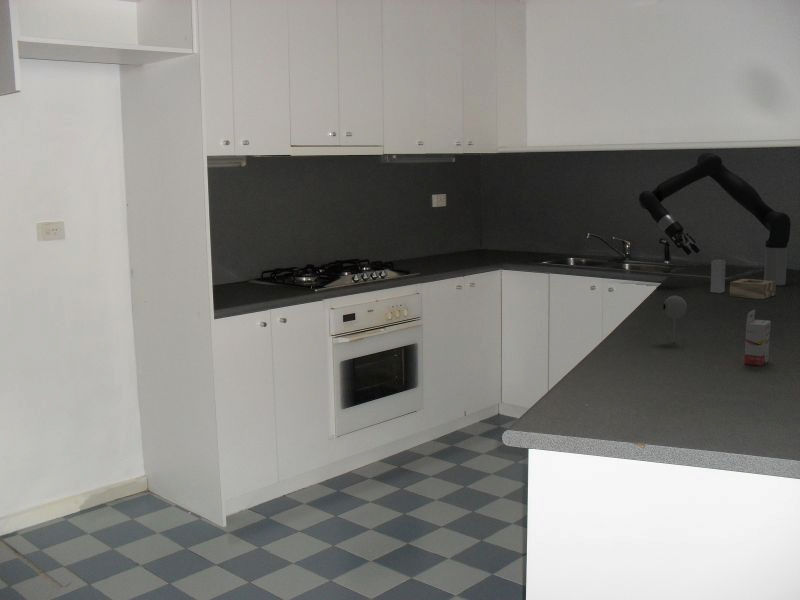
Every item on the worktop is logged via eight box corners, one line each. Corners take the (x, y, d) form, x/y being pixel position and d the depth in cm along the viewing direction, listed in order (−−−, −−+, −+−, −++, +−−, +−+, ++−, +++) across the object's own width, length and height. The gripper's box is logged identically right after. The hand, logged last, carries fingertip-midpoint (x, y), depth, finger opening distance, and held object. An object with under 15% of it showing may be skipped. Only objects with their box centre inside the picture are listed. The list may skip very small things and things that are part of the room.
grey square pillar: (714, 291, 391) (715, 259, 389) (724, 291, 388) (725, 260, 386) (710, 292, 388) (711, 260, 386) (720, 293, 385) (721, 261, 383)
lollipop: (658, 340, 285) (660, 294, 283) (680, 339, 285) (681, 293, 283) (667, 344, 278) (668, 297, 276) (689, 344, 278) (690, 296, 276)
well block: (742, 292, 386) (742, 278, 385) (775, 295, 377) (775, 281, 376) (729, 296, 376) (730, 282, 375) (762, 299, 366) (763, 284, 366)
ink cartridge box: (762, 366, 247) (764, 314, 244) (743, 364, 249) (746, 313, 247) (769, 360, 254) (771, 310, 251) (751, 358, 256) (753, 308, 254)
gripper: (669, 221, 392) (693, 248, 386) (683, 219, 402) (706, 246, 396) (657, 233, 396) (681, 260, 390) (671, 230, 407) (695, 257, 401)
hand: (694, 252), depth 393 cm, fingers open, 8 cm apart
